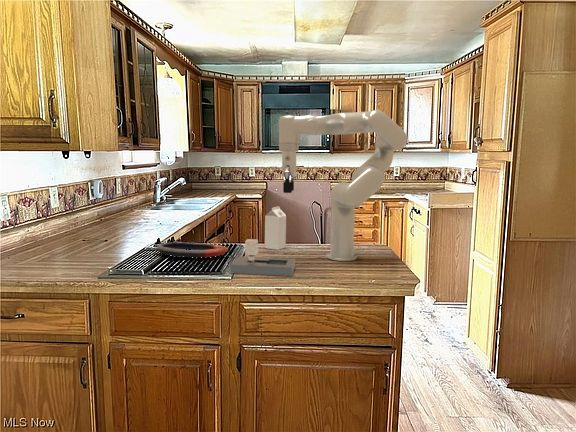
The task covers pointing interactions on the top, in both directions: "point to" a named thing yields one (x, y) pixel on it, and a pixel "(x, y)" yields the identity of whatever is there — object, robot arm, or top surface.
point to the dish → (198, 250)
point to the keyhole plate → (263, 266)
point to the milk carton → (275, 229)
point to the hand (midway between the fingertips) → (288, 191)
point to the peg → (251, 249)
